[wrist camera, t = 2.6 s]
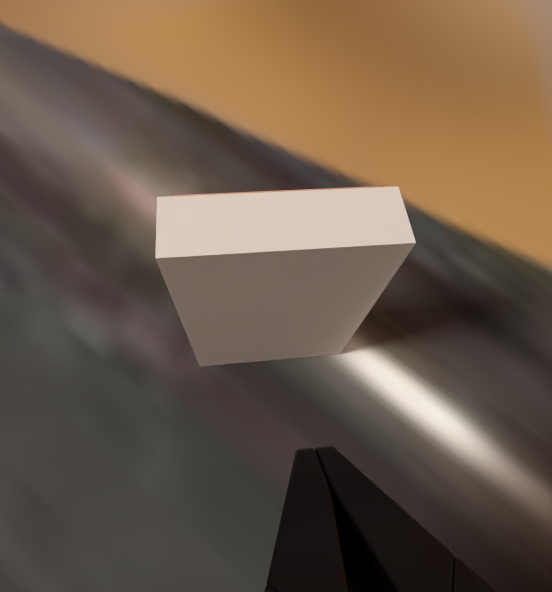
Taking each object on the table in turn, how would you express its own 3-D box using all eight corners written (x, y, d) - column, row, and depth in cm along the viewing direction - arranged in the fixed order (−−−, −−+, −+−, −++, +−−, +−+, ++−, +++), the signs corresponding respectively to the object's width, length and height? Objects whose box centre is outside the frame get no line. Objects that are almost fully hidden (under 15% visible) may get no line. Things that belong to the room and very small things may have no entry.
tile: (340, 354, 20) (415, 242, 11) (199, 366, 19) (155, 258, 10) (332, 312, 21) (395, 178, 12) (198, 322, 20) (157, 188, 11)
